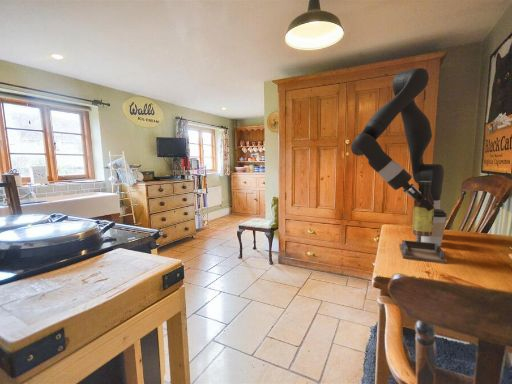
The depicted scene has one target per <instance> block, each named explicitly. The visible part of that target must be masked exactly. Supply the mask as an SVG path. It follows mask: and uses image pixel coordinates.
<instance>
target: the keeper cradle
mask: <svg viewBox="0 0 512 384" xmlns="http://www.w3.org/2000/svg"><path fill="white" fill-rule="evenodd" d="M415 236H416V235H415ZM401 241H402V242H401V243H399V245H398V246H399V250H400V253H401V256H402V259H405V260H412V261H413V260H414V261H422V262H427V263H428V262H430V263H436V264H437V263H439V264H444V265H445V264H446V265H447V264H448V261H447V259H446V257H445V252H444V251H443V249H442V248H441V246H439V245H438V244H437V243H427V242H421V236H418V235H417V236H416V239H415V240H404V239H403V240H401Z"/></svg>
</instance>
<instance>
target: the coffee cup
mask: <svg viewBox="0 0 512 384" xmlns="http://www.w3.org/2000/svg"><path fill="white" fill-rule="evenodd" d="M446 217H447V213H446V212H445V211H444V209H441V208H440V209H434V217H433V231H432V235H431V236H421V242H427V243H437V244H438V245H439V247H442V242H443V236H444V233H445V228H446V219H447V218H446Z"/></svg>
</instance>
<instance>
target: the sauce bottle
mask: <svg viewBox="0 0 512 384" xmlns="http://www.w3.org/2000/svg"><path fill="white" fill-rule="evenodd" d="M417 185H418V190H419V191H420V192H421V193H422V196H424V197H425V198H426V200H427V201H428V202H429V203H430V204H431V205H432V206H434V201H433V198H432V195H431V185H432V182H431V181H419V182H418V183H417ZM420 198H421V196H419V197H418V198H417V199H420ZM413 201H414V202H413V214H412V234H413V235H414V234H415V235H414V236H416V235H418V236H431V235H432V231H433V217H434V208H433V209H432V210H430V211H428V210H427V209H426V208H425V207H424V206H422V205H421V204H420V203H418V201H417V200H414V199H413Z"/></svg>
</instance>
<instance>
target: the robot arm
mask: <svg viewBox="0 0 512 384" xmlns="http://www.w3.org/2000/svg"><path fill="white" fill-rule="evenodd" d="M429 79H430V78H429V72H428V70H426V69H425V68H422V67H416V68H411V69H407V70H403V71H400V72H397V73H396V74H395V76H393V80H392V90H393V95H394V97H393V98H392V99H390V100H389V101H388V102H386V103H384V105H382V106H381V107H379V109H378V110H377V111H376V112H375V113H374V114H373V115H372V116H371V118H370V119H369V120H368V122H367V123H366V124H365V127H364V128H363V129H362V130H361V132H360V133H359V134H358V135H357V136H356V137H355V138H354V139H353V140H352V143H351V145H350V150H351V152H352V154H354V156H360V157H361V156H364V157H365V158H366V159H367V160H368V161H367V163H368V165H369V166H370V167H371V169H373V170H374V171H375V172H376V173H377V174H379V176H380V178H381V179H382V180H384V181H385V182H386V183H387V184H388V185H389V186H390V187H391V188H392V189H393V190H395V191H397V190H399V189H401V188H402V189H403V190H402V192H403V193H405V194H406V195H407V196H409V197H410V198H411V199H412V200H413V201H414V200H417V201H418V203H420V204H421V205H422V206H424V207H425V208H426V209H427V210H428V211H430V210H432V209H433V208H434V209H440V210H441V196H442V190H443V183H444V175H445V172H444V171H445V170H444V167H443V165H442V164H439V163H424V159H423V158H424V153H425V152H426V149H427V148H428V146H429V145H430V143H431V140H432V138H433V137H432V136H433V132H432V127H431V122H430V120H429V118H428V116H427V115H426V114H425V113H424V112H423V111H422V110H421V108H420V107H418V105H417V103H416V102H415V98H417V96H420V94H421V93H422V92H423V91H424V90H425V88H426V87H427V85H428V83H429ZM399 114H400V116H401V119H402V120H401V121H402V123H403V129H404V134H405V137H406V142H407V145H408V147H407V148H408V150H409V157H410V163H411V164H410V165H411V171H412V175H411V173H409V172H408V171H407V170H406V169H405V168H404V167H403V166H401V165H400V164H399V163H398V162H397V161H395V160H394V159H392V158H391V156H390V155H388V154H387V153H386V152H385V151H384V150H383V147H382V146H381V145H380V143H379V142H378V141H377V139H379V137H381V135H383V133H384V132H385V130H386V129H388V127H389V126H390V124H391V123H392V122H393V121H394V119H395V118H396V117H397V116H398V115H399ZM412 178H413V180H414V183H416V184H418V182H419V181H431V182H432V185H431V195H432V198H433V201H434V206H432V205H431V204H430V203H429V202H428V201H427V200H426V198H425V197H424V196H422V193H421V192H420V191H419V188H417V186H416V185H414V183H411V184H410V183H409V182H410V181H411V180H412ZM419 196H421V198H420V199H417V198H418V197H419ZM413 235H414V236H417V235H415V234H413Z"/></svg>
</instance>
